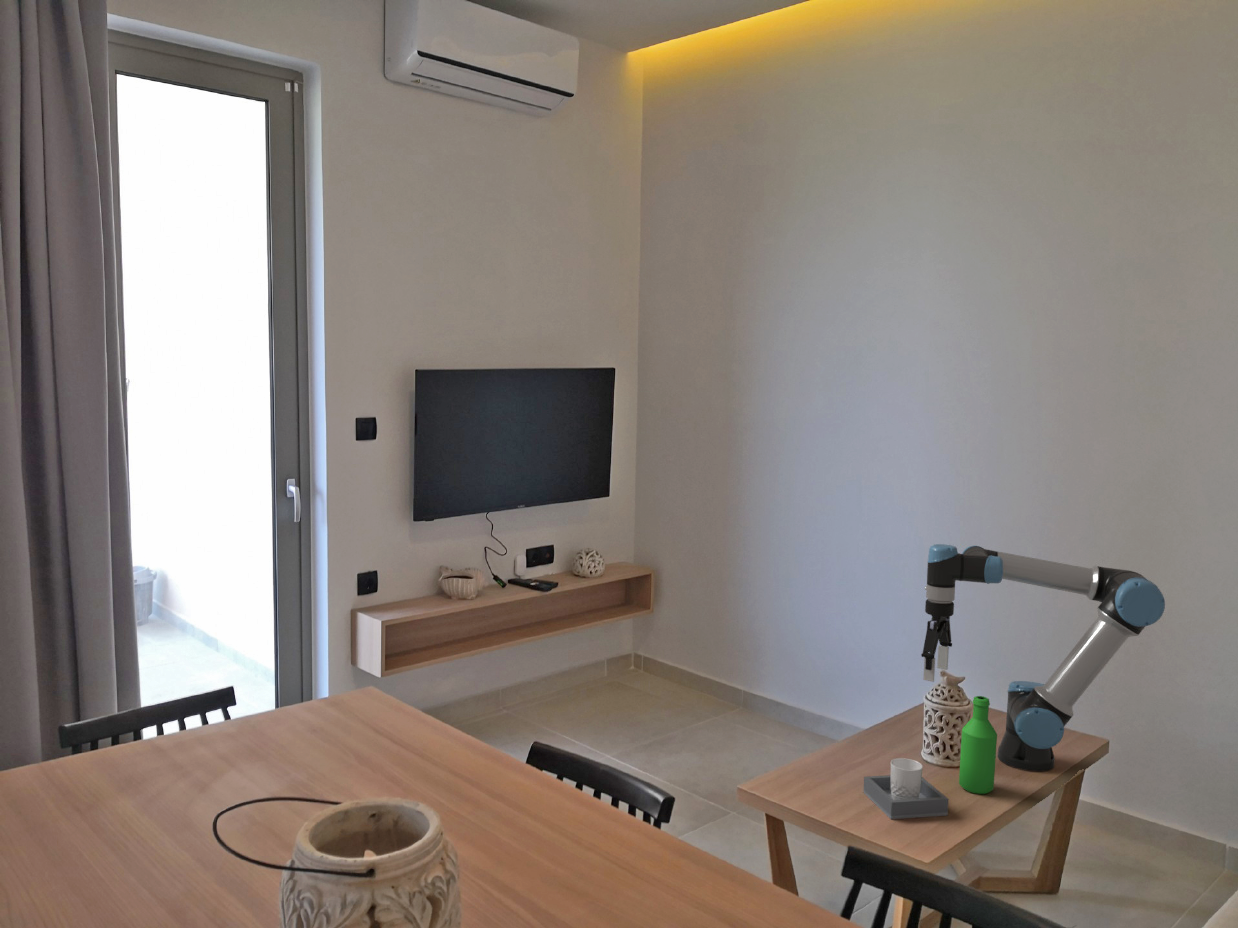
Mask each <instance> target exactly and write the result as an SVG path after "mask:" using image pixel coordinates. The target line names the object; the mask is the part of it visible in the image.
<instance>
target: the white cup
mask: <svg viewBox="0 0 1238 928" xmlns="http://www.w3.org/2000/svg"><path fill="white" fill-rule="evenodd" d="M923 768H924V765H923V764H922V763H921V762H920V761H917V760H914V759H911V758H904V757H899V758H893V759H892V760H890V774H889V775H890V784H891V798H892V799H893V800H904V799H919V793H920V787H921V779H922V777H923Z"/></svg>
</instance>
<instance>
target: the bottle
mask: <svg viewBox="0 0 1238 928" xmlns="http://www.w3.org/2000/svg"><path fill="white" fill-rule="evenodd" d="M972 704H973V707H972V708H973V710H972V717H971V718H970V719H969V720H968V722H967V723H966V724H965V725H964V726H963V727H962V729H961V738H960V739H961V740H960V760H959V775H958V784H959V786H961V788H962V789H964V790H965V791H967V792H969V793H972V794H978V795H981V794H982V795H985V794H988V793H991V792H992V791H994V787H995V772H996V760H997V759H996V758H997V757H996V756H997V744H998V743H997V742H998V734H997V731H996V730H995V728H994V726H993V725H992V723H991V722H990V720H989V708H990V707H989V706H990V704H991V703H990V699H989V698H988V697H985V696H982V695H977V696H974V697H973V699H972Z"/></svg>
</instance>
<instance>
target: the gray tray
mask: <svg viewBox="0 0 1238 928" xmlns="http://www.w3.org/2000/svg"><path fill="white" fill-rule="evenodd" d="M890 775H891V774H888V775H872V776H871V775H869V776H868V775H867V776H863V793H864V794H865V795H866V797H867V798H869V800H871V801H872V802H873V803H874V804H875V805H876V807H877V808H878V809H880V810H881V811H882V812H883V813H884V814H885V815H886V816H887V817H888V818H889V819H890V820H901V819H916V817H917V818H928V817H929V818H930V817H942V816H943V817H945V816H948V815H949V801H950V799H949V797H947V796H946V795H945V794H943V793H942V792H941V791H940V790H939V789H938V788H936V787H935V786H934V785H932V784H931V783H930V782H929V781H927V780H926V778H924V777H923V776H922V779H921V787H920V793H919V799H904V800H893V799H892V798H891V784H890Z"/></svg>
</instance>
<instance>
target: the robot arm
mask: <svg viewBox="0 0 1238 928" xmlns="http://www.w3.org/2000/svg"><path fill="white" fill-rule="evenodd" d="M926 570H927V571H926V586H924V590H925V591H926V593H925V594H926V595H925V597H926V600H925V607H924V612H925V613H926V614H928V615H930V616H931V620H927V624H926V625H927V626H926V633H925V639H924V645H923V649H922V653H921V655H920V656H921V658H924V659H923V661H924V664H923V678H922V679H923V680H924V681H926V682H932V683H934V682H935V674H936V673H935V672H936V671H935V670H936V668H937V669H941V670H944V671H945V670H946V671H948V669H949V654H950V653H949V651H950V647H953V643H952V633H951V631H952V630H951V621H950V619H951V616H953V615H954V611H955V603H954V602H953V601H955V599H956V598H955V597H956V596H955V594H956V581H957V582H969V583H972V582H973V583H982V584H988V585H989V584H1000V583H1002V580H1006V581H1012V582H1018V583H1022V584H1026V585H1027V584H1028V585H1032V586H1037V587H1043V588H1048V589H1053V590H1059V591H1063V592H1069V593H1073V594H1078V595H1079V594H1080V595H1084V596H1086V597H1087V599H1088V600H1090V601H1095V602H1100V604H1099V605H1098V606H1097V608H1096V609H1097V613H1098V614H1097V615H1098V616H1097V618H1096V619H1095V621H1093V623H1092V624H1091V625H1090V627H1089V628H1088V629H1087V630H1086V631H1085V633H1084V634H1083V636H1082V637H1081V638H1080V639H1079V641H1078V642H1077V643H1076V644H1075V645H1074V646H1073V648H1072V649H1071V650H1070V651H1069V653H1068V654H1067V656H1066V657H1065V658H1064V659H1063V661H1062V662H1061V663H1060V664H1059V666H1058V667H1057V668H1056V669H1055V670H1054V672H1053V673H1052V674H1051V676H1050V677H1049V678H1048V680H1047V681H1046V682H1045V683H1041V682H1034V681H1025V680H1014V681H1011V682H1010V683H1009V684H1008V690H1007V691H1006V692H1007V706H1006V723H1005V733H1004V734H1003V736H1002V739H1001V740H1000V744H999V746H998V749H997V758H998V760H999V761H1000V762H1002V763H1003V764H1005V765H1007V766H1009V767H1012V768H1016V769H1018V770H1022V771H1023V770H1024V771H1029V772H1045V771H1050V770H1052V769H1054V767H1055V761H1056V760H1055V759H1056V758H1055V755H1054V751H1053V747H1055V746H1057V745H1058V744H1059V743H1060V742H1061V740H1062V739H1063V736H1064V733H1065V727H1066V725H1068V723H1069V721H1070V720H1071V719H1072V718H1073V717H1074V711H1073V707H1074V705H1075V704H1076V702H1078V701H1079V699H1080V698H1081V696H1082V695H1084V693H1085V691H1087V689H1088V688H1089V687H1090V686H1091V684H1092V682H1094V680H1095V679H1096V678H1097V676H1098V675H1099V674H1100V673H1101V671H1102V670H1103V669H1104V668H1105V666H1107V664H1108V663H1109V662H1110V661H1111V659H1112V658H1113V657H1114V656H1115V654H1116V653H1117V651H1119V649H1120V648H1121V647H1122V646H1123V644H1125V642H1126V641H1127V640H1128V638H1130V637H1138V636H1139V635H1140V634H1141V632H1142V631H1143V630H1144V629H1145V627H1147V626H1152V625H1154V624H1155V623H1156V622H1158V621H1159V620H1160V619H1161V618H1162V616H1163V615H1164V611H1165V608H1166V602H1165V597H1164V594H1163V592H1162V591H1161V590H1160V588H1159V586H1158V585H1156V584H1155V583H1154V582H1153V581H1151V580H1149V579H1147V578H1146V577H1145V576H1144V575H1142V574H1141V573H1139V572H1136V571H1133V570H1127V569H1120V568H1112V567H1104V566H1097V565H1095V566H1092V567H1090V568H1089V567H1084V566H1078V565H1074V564H1069V563H1068V564H1067V563H1064V562H1056V561H1051V560H1048V559H1047V560H1046V559H1040V558H1034V557H1030V556H1024V555H1019V554H1015V553H1014V554H1013V553H1008V552H1007V553H1006V552H1002V551H997V550H992V549H991V550H990V549H987V548H984V547H982V546H979V545H969V546H968V547H966V548H965V549H964V550H963V551H962V553H959V552H958V547H956V546H954V545H953V544H952V545H951V544H945V543H943V544H941V543H939V544H932V545H931V546H930V547H929V548H928V558H927V569H926ZM938 643H939V645H938ZM937 649H938V650H937ZM936 651H937V652H938V653H937V666H936V657H935V655H936Z"/></svg>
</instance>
